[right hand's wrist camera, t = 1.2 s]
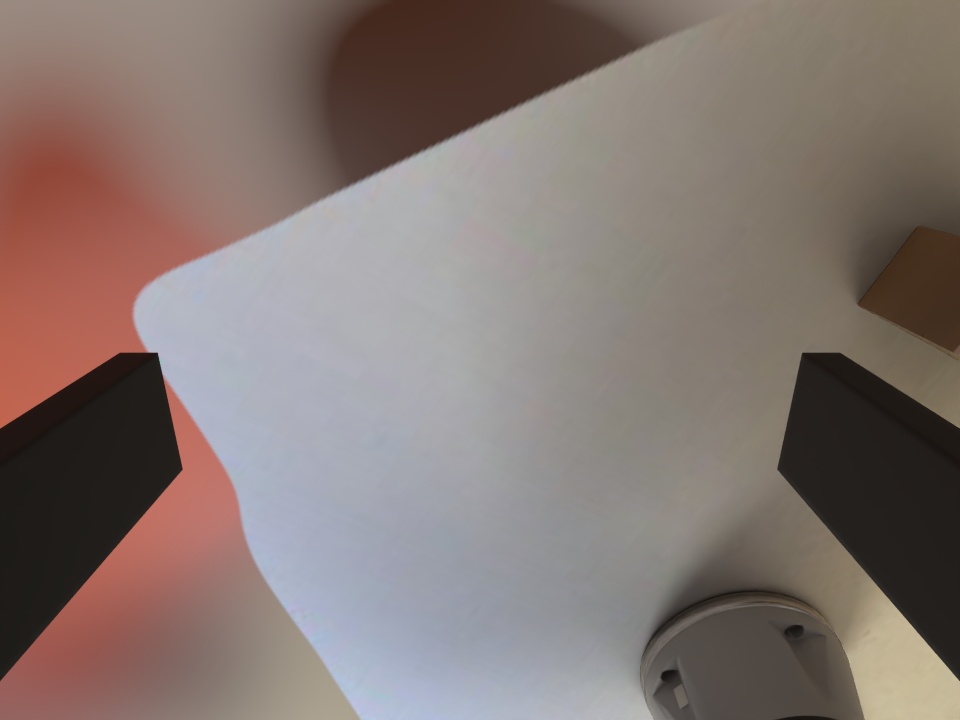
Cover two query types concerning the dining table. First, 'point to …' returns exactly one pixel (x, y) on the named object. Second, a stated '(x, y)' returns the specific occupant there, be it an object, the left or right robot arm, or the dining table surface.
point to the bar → (922, 290)
